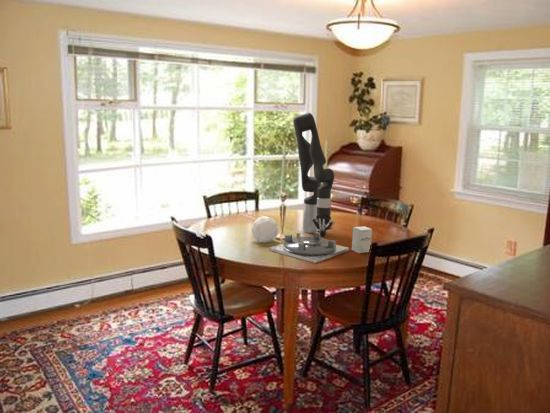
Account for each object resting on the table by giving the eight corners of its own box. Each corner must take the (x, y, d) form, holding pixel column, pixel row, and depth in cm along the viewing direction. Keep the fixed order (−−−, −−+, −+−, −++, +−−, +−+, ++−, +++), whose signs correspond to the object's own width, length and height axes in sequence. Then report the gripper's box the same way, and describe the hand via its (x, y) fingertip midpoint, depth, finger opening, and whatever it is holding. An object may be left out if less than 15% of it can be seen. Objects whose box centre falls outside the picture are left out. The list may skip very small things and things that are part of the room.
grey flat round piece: (294, 237, 283) (294, 228, 282) (342, 244, 272) (342, 234, 271) (275, 250, 258) (275, 240, 257) (326, 258, 248) (327, 247, 246)
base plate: (304, 239, 286) (304, 230, 285) (349, 250, 267) (349, 240, 266) (269, 250, 264) (269, 240, 263) (315, 263, 245) (315, 252, 244)
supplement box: (359, 253, 262) (360, 230, 260) (351, 249, 269) (352, 226, 266) (371, 252, 265) (372, 229, 263) (363, 248, 272) (364, 225, 269)
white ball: (267, 248, 285) (279, 225, 289) (272, 246, 271) (285, 222, 274) (245, 236, 284) (258, 213, 287) (249, 233, 269) (262, 209, 273)
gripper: (309, 205, 271) (308, 236, 275) (331, 208, 264) (330, 240, 267) (316, 203, 277) (315, 234, 281) (338, 206, 270) (337, 237, 273)
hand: (323, 237), depth 274 cm, fingers closed
